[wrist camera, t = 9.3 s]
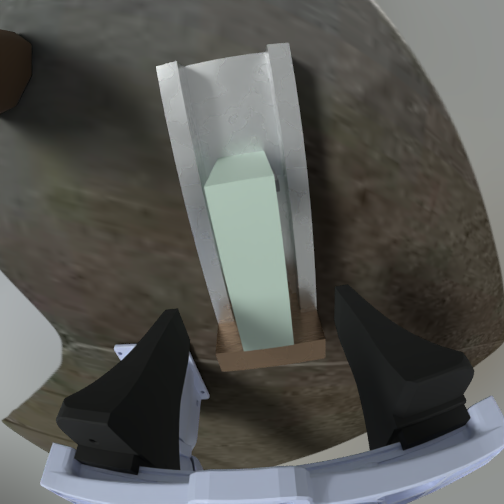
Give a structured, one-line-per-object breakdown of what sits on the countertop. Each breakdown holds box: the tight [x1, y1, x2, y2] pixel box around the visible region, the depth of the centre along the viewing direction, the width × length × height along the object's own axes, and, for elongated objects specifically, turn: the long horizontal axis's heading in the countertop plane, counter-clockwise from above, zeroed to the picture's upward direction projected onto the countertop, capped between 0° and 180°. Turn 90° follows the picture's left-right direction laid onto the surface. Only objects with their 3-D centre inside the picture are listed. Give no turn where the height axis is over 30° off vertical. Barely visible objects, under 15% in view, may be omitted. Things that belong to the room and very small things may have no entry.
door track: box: [156, 43, 325, 372], centre depth 18 cm, size 20×7×6 cm, turn 9°
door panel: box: [204, 151, 294, 351], centre depth 18 cm, size 10×3×7 cm, turn 9°
